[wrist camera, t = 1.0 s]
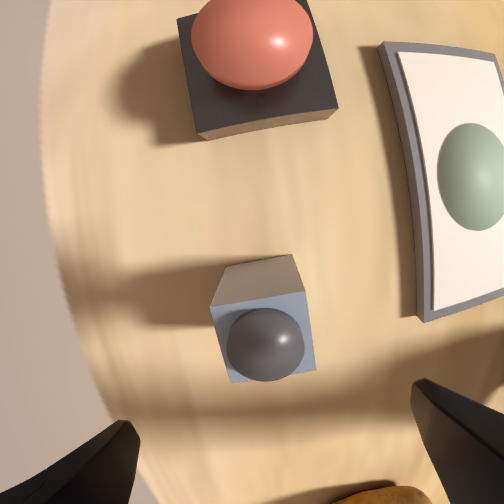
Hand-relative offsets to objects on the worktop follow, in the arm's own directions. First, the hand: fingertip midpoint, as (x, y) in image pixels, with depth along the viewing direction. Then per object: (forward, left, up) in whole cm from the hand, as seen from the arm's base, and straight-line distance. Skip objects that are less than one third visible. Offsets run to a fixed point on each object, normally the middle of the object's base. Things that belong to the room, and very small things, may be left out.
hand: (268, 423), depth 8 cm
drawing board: (-15, -5, -11) cm, 19 cm away
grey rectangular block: (0, 0, -11) cm, 11 cm away
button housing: (-2, -13, -11) cm, 17 cm away
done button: (-2, -13, -9) cm, 16 cm away
